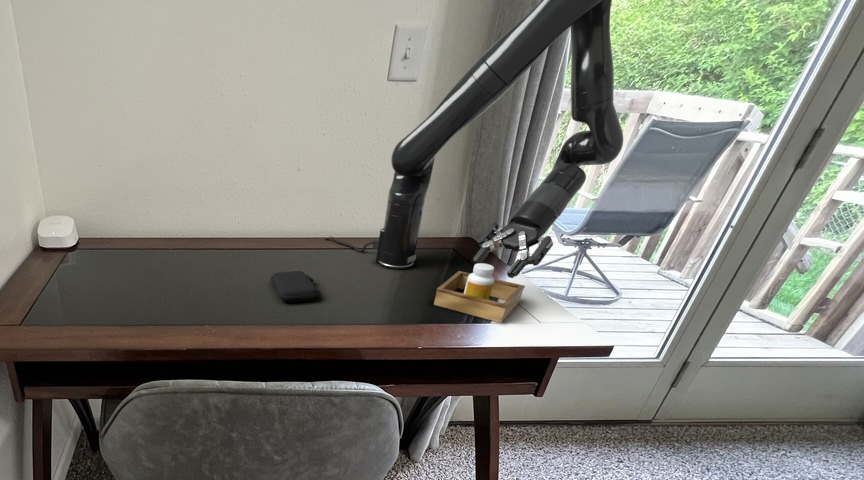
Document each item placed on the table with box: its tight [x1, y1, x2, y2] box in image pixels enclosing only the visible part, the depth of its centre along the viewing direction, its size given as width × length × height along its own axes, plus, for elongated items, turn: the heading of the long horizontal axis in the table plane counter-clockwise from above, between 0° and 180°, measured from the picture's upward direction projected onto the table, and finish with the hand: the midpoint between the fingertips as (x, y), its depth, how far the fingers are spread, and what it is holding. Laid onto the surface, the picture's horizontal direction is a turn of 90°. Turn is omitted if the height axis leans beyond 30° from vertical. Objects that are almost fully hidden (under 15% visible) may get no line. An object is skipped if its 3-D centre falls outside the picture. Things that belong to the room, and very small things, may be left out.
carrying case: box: [270, 270, 319, 303], centre depth 119 cm, size 11×3×15 cm
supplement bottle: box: [463, 262, 495, 300], centre depth 107 cm, size 5×5×10 cm
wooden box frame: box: [433, 270, 526, 324], centre depth 110 cm, size 15×14×4 cm
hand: (491, 269), depth 106 cm, fingers open, 8 cm apart
